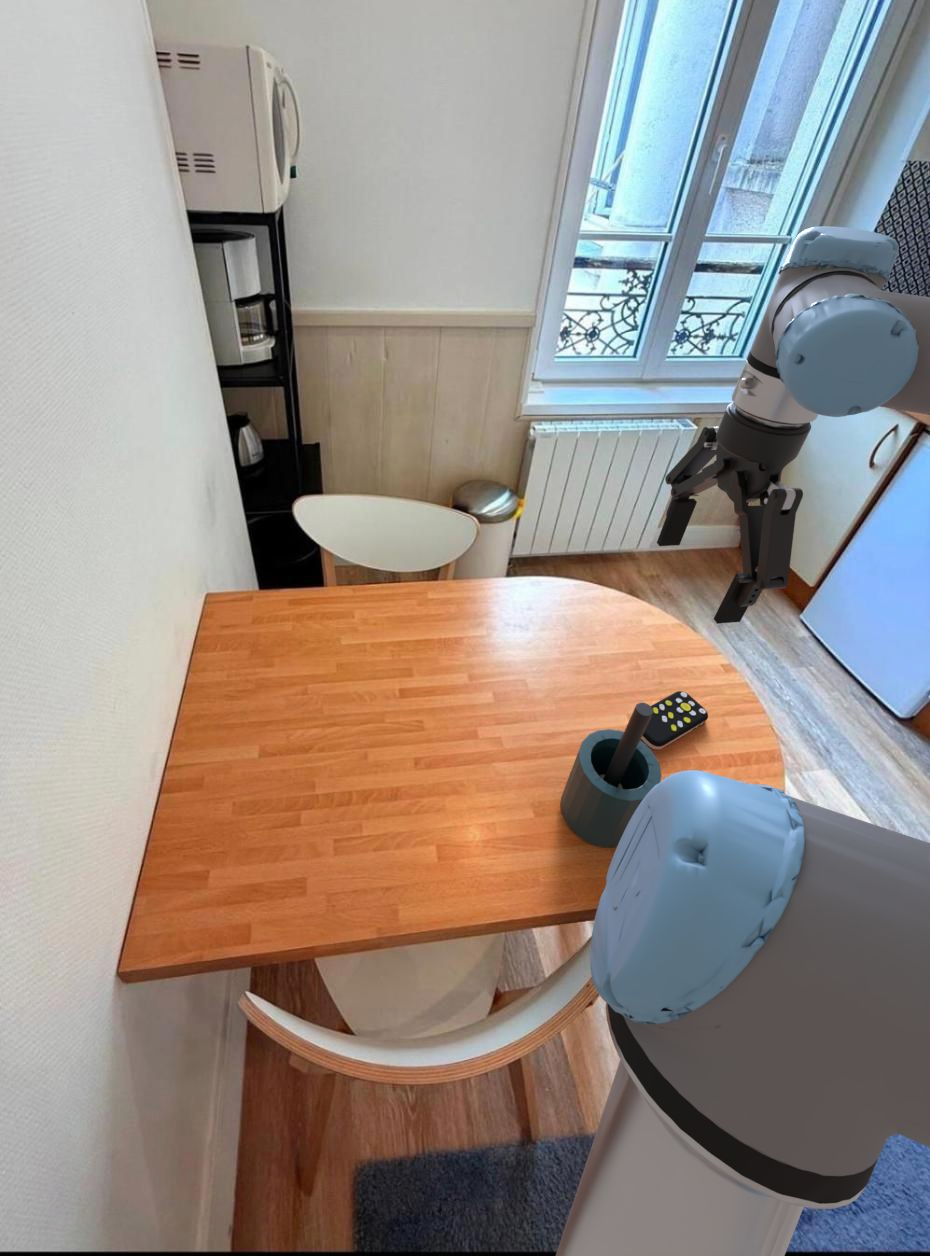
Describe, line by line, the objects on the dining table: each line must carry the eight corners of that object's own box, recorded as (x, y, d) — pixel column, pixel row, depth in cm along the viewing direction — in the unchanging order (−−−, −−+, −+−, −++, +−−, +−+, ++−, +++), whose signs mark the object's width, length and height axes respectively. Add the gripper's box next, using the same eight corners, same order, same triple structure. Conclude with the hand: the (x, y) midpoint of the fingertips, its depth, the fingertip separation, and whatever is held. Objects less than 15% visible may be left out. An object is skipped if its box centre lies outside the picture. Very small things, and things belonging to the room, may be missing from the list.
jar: (647, 843, 82) (675, 795, 75) (575, 852, 81) (597, 805, 73) (616, 774, 90) (639, 725, 82) (550, 782, 88) (567, 732, 81)
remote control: (624, 724, 97) (627, 716, 96) (678, 694, 102) (682, 686, 101) (654, 754, 93) (658, 746, 92) (709, 721, 98) (713, 713, 97)
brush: (618, 819, 83) (668, 721, 70) (591, 822, 83) (635, 725, 69) (607, 792, 86) (652, 693, 73) (580, 795, 86) (621, 696, 72)
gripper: (672, 362, 67) (621, 519, 80) (822, 482, 48) (723, 662, 61) (734, 361, 68) (674, 516, 81) (905, 479, 49) (790, 656, 62)
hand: (695, 579), depth 71 cm, fingers open, 13 cm apart
